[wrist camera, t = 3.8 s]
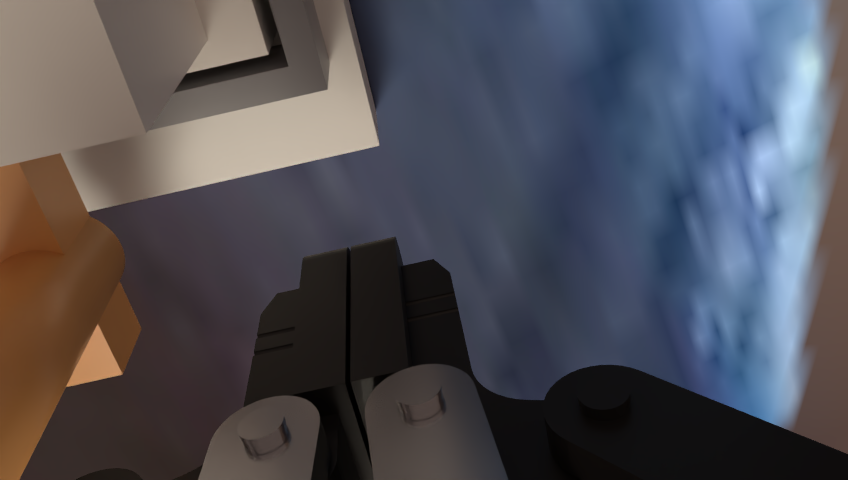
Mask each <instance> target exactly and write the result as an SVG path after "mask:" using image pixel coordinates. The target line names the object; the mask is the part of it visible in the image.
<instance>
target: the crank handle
mask: <svg viewBox="0 0 848 480" xmlns="http://www.w3.org/2000/svg"><path fill="white" fill-rule="evenodd" d="M124 268H125V255H124V251H123V248H122V245H121V244H120V242H119V240H118V238H117V237H116V236H115V234H114V233H113V232H112V231H111V230H110V229H109V228H108V227H107V226H105V225H104V224H103V223H101V222H100V221H98V220H96V219H94V218H92V217H90V216H89V214H88V212H87V209H86V207H85V205H84V203H83V201H82V199H81V196H80V194H79V192H78V190H77V188H76V186H75V183H74V181H73V179H72V177H71V175H70V173H69V170H68V168H67V166H66V164H65V162H64V160H63V157H62V155H61V153H59V154H54V155H50V156H46V157H41V158H37V159H33V160H28V161H24V162H19V163H15V164H11V165H6V166H2V167H0V480H19V479H20V477H21V475H22V473H23V471H24V469H25V467H26V465H27V463H28V461H29V459H30V457H31V455H32V453H33V451H34V449H35V447H36V445H37V443H38V441H39V439H40V437H41V435H42V433H43V431H44V429H45V427H46V425H47V423H48V421H49V419H50V417H51V416H52V414H53V412H54V410H55V408H56V406H57V404H58V402H59V400H60V398H61V396H62V394H63V392H64V390H65V388H66V387H68V386H73V385H77V384H82V383H86V382H91V381H95V380H100V379H104V378H109V377H113V376H118V375H122V374H123V372H124V370H125V367H126V365H127V363H128V360H129V358H130V355H131V353H132V350H133V348H134V346H135V343H136V341H137V338H138V336H139V333H140V331H141V327H140V324H139V322H138V320H137V318H136V316H135V314H134V311H133V309H132V307H131V305H130V303H129V301H128V298H127V296H126V294H125V292H124V290H123V288H122V285H121V283H120V279H121V277H122V274H123V272H124Z"/></svg>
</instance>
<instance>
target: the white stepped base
mask: <svg viewBox="0 0 848 480" xmlns="http://www.w3.org/2000/svg"><path fill="white" fill-rule="evenodd" d="M268 2H269V5H270V8H271V12H272V15H273V19H274V22H275V25H276V29H277V32H276V35H275V37H274V40H273V43H272V46H271V49H270V52H269V55H265V56H260V57H256V58H252V59H247V60H243V61H239V62H234V63H230V64H226V65H221V66H217V67H213V68H208V69H204V70H200V71H195V72H191V73H187V74H185V76H184V77H183V79H182V80H181V82H180V83H179V85H178V86H177V88H176V89H175V91H174V93H173V94H172V96H171V97H170V99H169V100H168V102H167V103H166V105H165V106H164V108H163V109H162V111H161V112H160V114H159V115H158V117H157V118H156V120H155V121H154V123H153V124H152V126H151V127H150V129H149V130H148V132H147V133H146V134H142V135H138V136H133V137H129V138H125V139H120V140H116V141H111V142H107V143H103V144H98V145H94V146H89V147H85V148H81V149H76V150H72V151H68V152H63V153H61V155H62V157H63V160H64V162H65V164H66V166H67V168H68V170H69V173H70V175H71V177H72V179H73V181H74V183H75V186H76V188H77V190H78V192H79V194H80V196H81V199H82V201H83V203H84V205H85V207H86V209H87V212H89V211H93V210H98V209H102V208H107V207H111V206H115V205H120V204H124V203H129V202H133V201H137V200H142V199H146V198H151V197H155V196H159V195H164V194H168V193H173V192H177V191H181V190H186V189H190V188H195V187H199V186H204V185H208V184H212V183H217V182H221V181H226V180H230V179H234V178H239V177H243V176H248V175H252V174H256V173H261V172H265V171H270V170H274V169H278V168H283V167H287V166H292V165H296V164H301V163H305V162H309V161H314V160H318V159H323V158H327V157H331V156H336V155H340V154H345V153H349V152H353V151H358V150H362V149H367V148H371V147H375V146H379V136H378V126H377V116H376V109H375V105H374V101H373V97H372V93H371V89H370V85H369V81H368V77H367V72H366V68H365V64H364V60H363V56H362V52H361V48H360V44H359V40H358V36H357V32H356V28H355V24H354V20H353V16H352V12H351V8H350V3H349V0H268Z"/></svg>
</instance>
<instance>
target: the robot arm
mask: <svg viewBox="0 0 848 480" xmlns="http://www.w3.org/2000/svg"><path fill="white" fill-rule="evenodd" d="M257 336H258V339H256V344H255V349H254V354H255V356H253V359H252V365H251V370H250V375H249V381H248V386H247V391H246V396H245V402H244V407H243V408H242V409H240V410H238V411H237V412H236V413H234V414H233V415H231V416H230V417H229V418H228V419H227V420H226V421H224V422H223V424H222V425H221V426H220V427H219V428H218V429H217V431H216V432H215V434H214V435H213V438H212V440H211V442H210V445H209V448H208V451H207V454H206V457H205V460H204V463H203V465H202V466H200V467H198V468H197V469H195V470H193V471H191V472H189V473H187V474H185V475H182V476H180V477H178V478H176V479H174V480H848V454H846V453H843V452H841V451H839V450H836V449H834V448H831V447H829V446H826V445H824V444H821V443H819V442H816V441H814V440H811V439H809V438H806V437H804V436H801V435H799V434H796V433H794V432H791V431H789V430H786V429H784V428H781V427H779V426H776V425H774V424H771V423H769V422H766V421H764V420H761V419H759V418H756V417H754V416H751V415H749V414H746V413H744V412H742V411H739V410H737V409H734V408H732V407H729V406H727V405H724V404H722V403H719V402H717V401H714V400H712V399H709V398H707V397H704V396H702V395H699V394H697V393H694V392H692V391H689V390H687V389H684V388H682V387H679V386H677V385H674V384H672V383H669V382H667V381H664V380H662V379H659V378H657V377H654V376H652V375H649V374H647V373H645V372H642V371H639V370H636V369H633V368H630V367H625V366H619V365H598V366H590V367H586V368H582V369H579V370H576V371H574V372H571V373H569V374H568V375H566V376H564V377H562V378H561V379H560V380H558V381H557V382H556V383H555V384H554V385H553V386H552V387H551V388H550V390H549V391H548V393H547V394H546V397H545V399H544V400H520V399H513V398H507V397H504V396H501V395H498V394H495V393H493V392H491V391H489V390H488V389H486V388H485V387H483V386H482V385H481V384H480V383H479V382H478V381H477V379H476V378H475V376H474V375H473V372H472V369H471V364H470V360H469V356H468V351H467V347H466V342H465V338H464V333H463V329H462V324H461V320H460V315H459V311H458V306H457V302H456V297H455V293H454V288H453V284H452V279H451V275H450V272H448V271H447V270H446V269H445V268H444V267H442V266H441V265H440V264H439V263H437V262H436V261H435V260H434V259H432V260H427V261H423V262H418V263H414V264H409V265H405V266H403V262H402V258H401V254H400V250H399V246H398V243H397V240H396V237H392V238H387V239H383V240H378V241H373V242H369V243H364V244H360V245H355V246H351V251H350V249H349V248H348V247H347V248H342V249H338V250H333V251H329V252H324V253H320V254H315V255H311V256H306V257H304V258H303V262H302V270H301V279H300V287H299V289H296V290H291V291H287V292H282V293H278V294H277V295H276V296H275V297H274V298H273V300H272V301H271V302H270V304H269V305H268V306H267V307H266V309H265V310H264V311H263V312H262V314H261V317H260V323H259V328H258V333H257ZM76 480H142V478H141V477H140V476H139V475H138V474H136V473H135V472H133V471H130V470H127V469H120V468H115V469H105V470H100V471H97V472H93V473H90V474H87V475H85V476H83V477H80V478H78V479H76Z"/></svg>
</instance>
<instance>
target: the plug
mask: <svg viewBox="0 0 848 480" xmlns="http://www.w3.org/2000/svg"><path fill="white" fill-rule="evenodd" d="M276 32H277V29H276V25H275V22H274V19H273V15H272V12H271V8H270V5H269V2H268V0H0V167H2V166H6V165H11V164H15V163H19V162H24V161H28V160H33V159H37V158H41V157H46V156H50V155H54V154H59V153H63V152H68V151H72V150H76V149H81V148H85V147H89V146H94V145H98V144H103V143H107V142H111V141H116V140H120V139H125V138H129V137H133V136H138V135H142V134H146V133H147V132H148V130H149V129H150V127H151V126H152V124H153V123H154V121H155V120H156V118H157V117H158V115H159V114H160V112H161V111H162V109H163V108H164V106H165V105H166V103H167V102H168V100H169V99H170V97H171V96H172V94H173V93H174V91H175V89H176V88H177V86H178V85H179V83H180V82H181V80H182V79H183V77H184V76H185V74H187V73H191V72H195V71H200V70H204V69H208V68H213V67H217V66H221V65H226V64H230V63H234V62H239V61H243V60H247V59H252V58H256V57H260V56H265V55H269V52H270V49H271V46H272V43H273V40H274V37H275V35H276Z"/></svg>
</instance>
